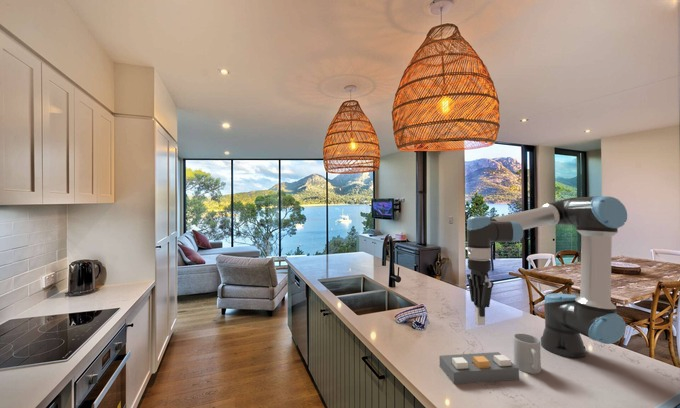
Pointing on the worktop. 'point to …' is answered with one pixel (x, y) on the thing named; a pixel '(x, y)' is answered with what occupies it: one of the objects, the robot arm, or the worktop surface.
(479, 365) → the button orange
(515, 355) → the mug
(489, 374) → the grey button panel
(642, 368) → the worktop surface
